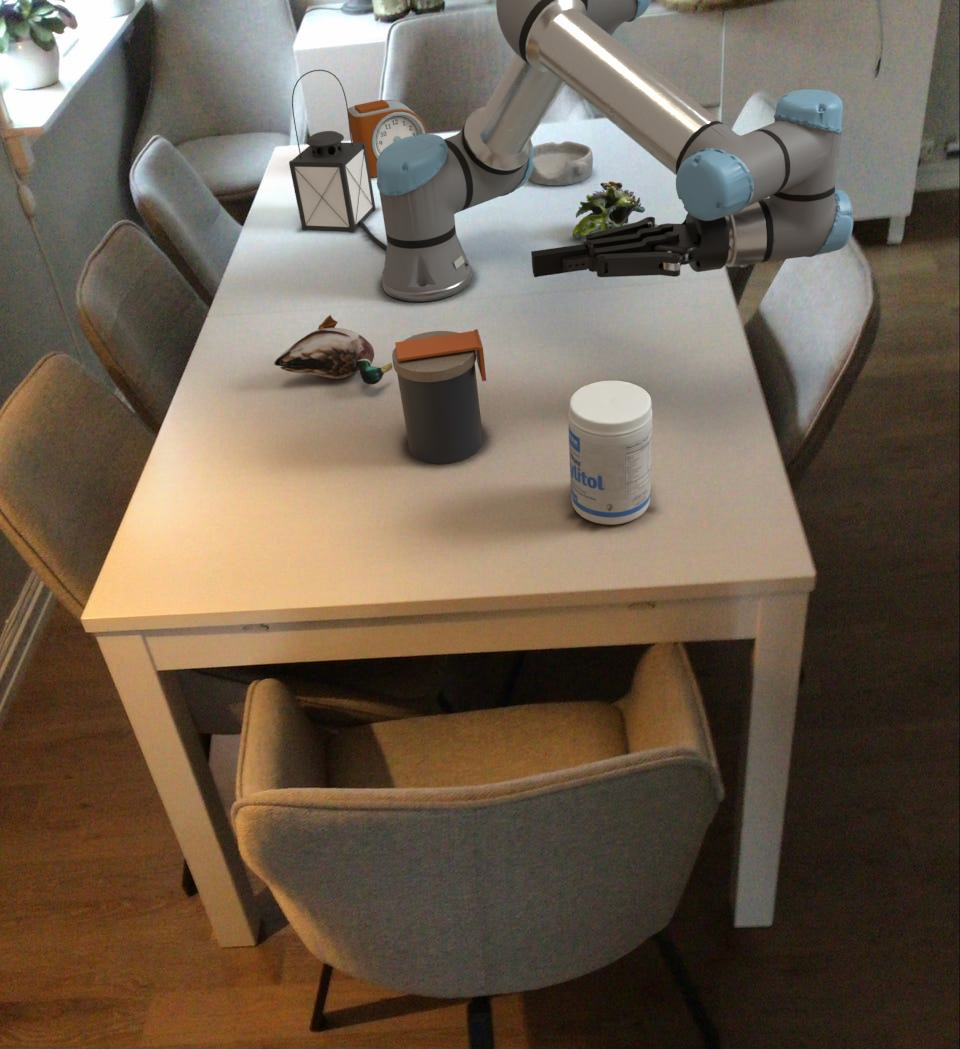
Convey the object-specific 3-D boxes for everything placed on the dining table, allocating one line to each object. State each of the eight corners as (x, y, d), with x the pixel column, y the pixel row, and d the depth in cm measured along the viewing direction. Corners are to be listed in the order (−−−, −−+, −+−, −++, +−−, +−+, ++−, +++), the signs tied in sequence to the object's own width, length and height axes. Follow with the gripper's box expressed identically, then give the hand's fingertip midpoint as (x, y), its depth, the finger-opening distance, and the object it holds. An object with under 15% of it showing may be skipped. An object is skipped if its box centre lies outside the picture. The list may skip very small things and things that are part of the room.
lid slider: (480, 361, 141) (477, 328, 138) (486, 380, 137) (482, 347, 134) (399, 374, 141) (394, 341, 138) (402, 393, 137) (397, 359, 134)
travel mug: (479, 416, 149) (469, 324, 141) (490, 458, 141) (480, 363, 132) (403, 428, 149) (389, 336, 140) (410, 470, 140) (395, 376, 132)
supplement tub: (556, 510, 131) (549, 407, 122) (601, 472, 136) (598, 370, 127) (622, 538, 125) (620, 432, 117) (667, 497, 131) (668, 393, 122)
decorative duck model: (397, 351, 153) (297, 380, 148) (400, 395, 158) (304, 424, 153) (356, 304, 163) (262, 329, 158) (361, 346, 168) (269, 372, 163)
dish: (595, 185, 213) (594, 160, 210) (525, 191, 214) (523, 166, 211) (590, 159, 224) (589, 135, 221) (524, 165, 225) (522, 141, 222)
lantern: (376, 209, 214) (353, 61, 197) (354, 232, 206) (328, 79, 189) (325, 208, 217) (298, 61, 200) (301, 230, 209) (271, 79, 192)
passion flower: (612, 256, 199) (648, 197, 195) (621, 270, 189) (659, 208, 185) (560, 226, 196) (595, 165, 192) (566, 238, 187) (603, 175, 182)
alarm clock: (365, 180, 227) (355, 114, 219) (354, 168, 234) (344, 104, 226) (431, 165, 231) (423, 100, 223) (419, 153, 237) (411, 90, 229)
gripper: (737, 287, 130) (544, 316, 128) (705, 244, 140) (525, 270, 139) (741, 228, 125) (540, 257, 124) (707, 188, 135) (521, 214, 134)
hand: (533, 264), depth 131 cm, fingers closed
